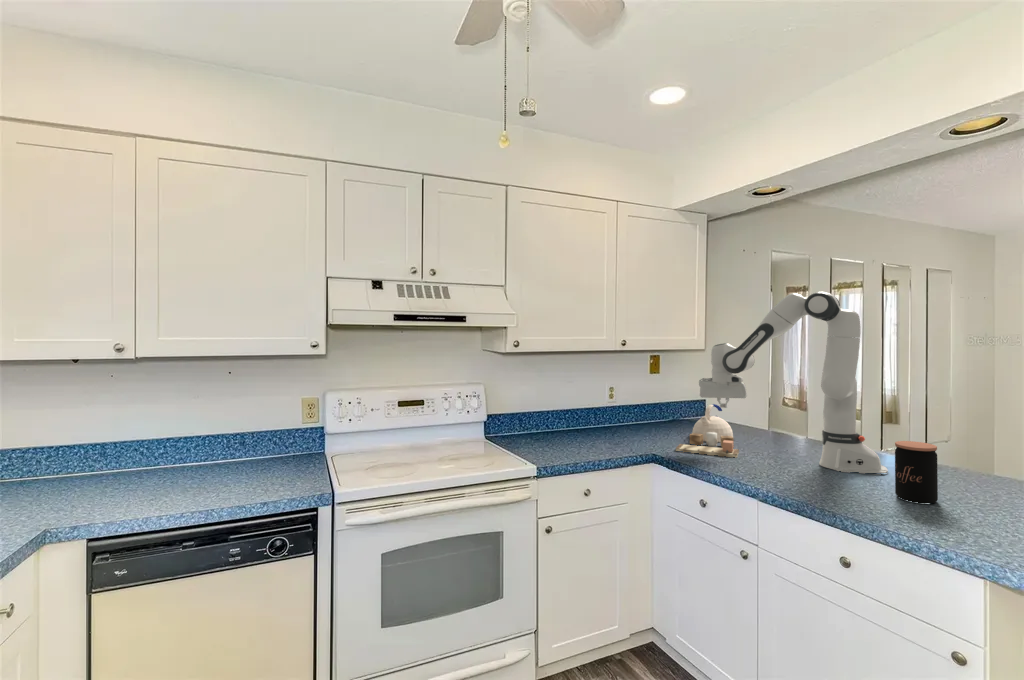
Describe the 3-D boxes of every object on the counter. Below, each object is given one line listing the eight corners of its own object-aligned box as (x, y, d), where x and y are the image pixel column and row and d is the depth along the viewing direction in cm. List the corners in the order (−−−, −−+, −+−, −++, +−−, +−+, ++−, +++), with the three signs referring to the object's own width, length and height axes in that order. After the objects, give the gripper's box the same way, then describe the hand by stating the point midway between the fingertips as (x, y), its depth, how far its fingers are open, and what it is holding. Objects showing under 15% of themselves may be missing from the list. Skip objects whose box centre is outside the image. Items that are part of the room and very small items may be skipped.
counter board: (738, 452, 221) (738, 449, 221) (736, 457, 213) (736, 454, 213) (680, 447, 234) (679, 443, 234) (675, 451, 226) (675, 448, 226)
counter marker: (733, 449, 220) (733, 440, 220) (731, 453, 214) (731, 444, 214) (723, 448, 222) (723, 440, 222) (722, 452, 216) (721, 443, 216)
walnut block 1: (703, 444, 240) (703, 434, 240) (699, 446, 237) (699, 435, 236) (693, 442, 244) (693, 433, 244) (689, 444, 240) (689, 434, 240)
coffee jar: (886, 494, 162) (886, 441, 162) (916, 493, 163) (916, 440, 163) (915, 506, 151) (915, 448, 151) (947, 504, 152) (946, 447, 152)
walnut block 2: (731, 446, 235) (731, 436, 235) (733, 448, 230) (733, 438, 230) (720, 445, 236) (720, 435, 236) (722, 448, 231) (722, 437, 231)
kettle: (684, 438, 254) (683, 404, 254) (703, 432, 268) (702, 400, 267) (722, 444, 239) (721, 408, 238) (740, 438, 252) (740, 403, 252)
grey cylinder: (718, 444, 238) (717, 432, 238) (716, 446, 234) (716, 434, 234) (707, 443, 241) (707, 431, 241) (705, 445, 236) (705, 433, 236)
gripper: (697, 378, 229) (698, 407, 228) (745, 378, 218) (746, 409, 218) (699, 377, 234) (701, 406, 234) (746, 377, 224) (747, 407, 223)
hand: (723, 407), depth 226 cm, fingers closed
